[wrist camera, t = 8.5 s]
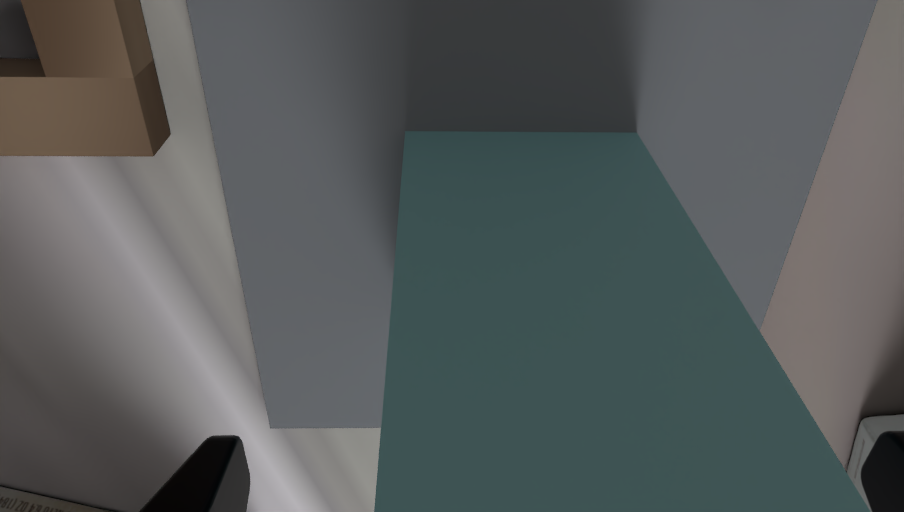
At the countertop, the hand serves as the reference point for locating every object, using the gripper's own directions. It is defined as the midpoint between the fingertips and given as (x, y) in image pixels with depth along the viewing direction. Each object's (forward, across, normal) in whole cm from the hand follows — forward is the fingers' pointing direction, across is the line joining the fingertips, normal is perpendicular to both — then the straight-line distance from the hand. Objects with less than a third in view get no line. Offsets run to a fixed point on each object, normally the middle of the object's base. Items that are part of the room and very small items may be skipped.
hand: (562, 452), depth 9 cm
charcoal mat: (+6, 0, 0) cm, 6 cm away
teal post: (+6, 0, 0) cm, 6 cm away
